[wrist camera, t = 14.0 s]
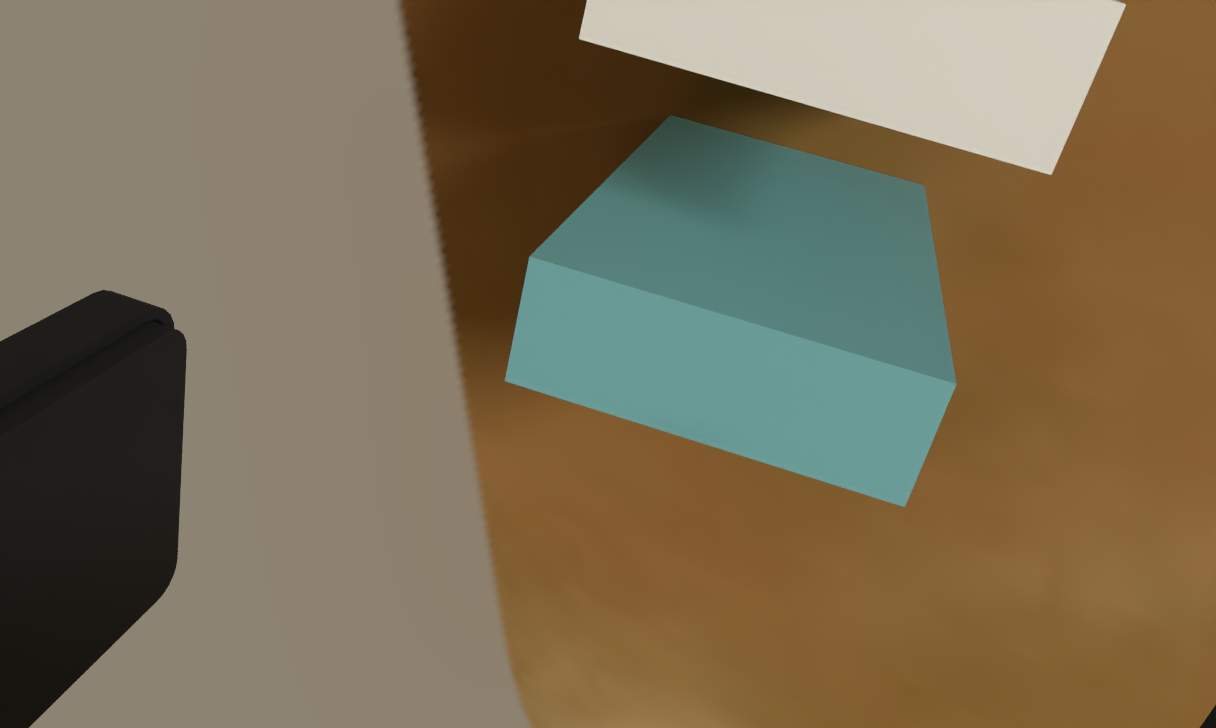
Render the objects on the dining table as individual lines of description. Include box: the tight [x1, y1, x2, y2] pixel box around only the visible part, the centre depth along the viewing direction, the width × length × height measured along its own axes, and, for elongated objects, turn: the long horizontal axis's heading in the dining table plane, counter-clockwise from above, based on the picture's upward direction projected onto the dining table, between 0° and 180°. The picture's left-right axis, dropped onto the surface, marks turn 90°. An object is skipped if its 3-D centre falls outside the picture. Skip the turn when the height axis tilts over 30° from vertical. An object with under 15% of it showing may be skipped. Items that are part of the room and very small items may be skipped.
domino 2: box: [505, 115, 956, 507], centre depth 19 cm, size 2×6×11 cm, turn 77°
